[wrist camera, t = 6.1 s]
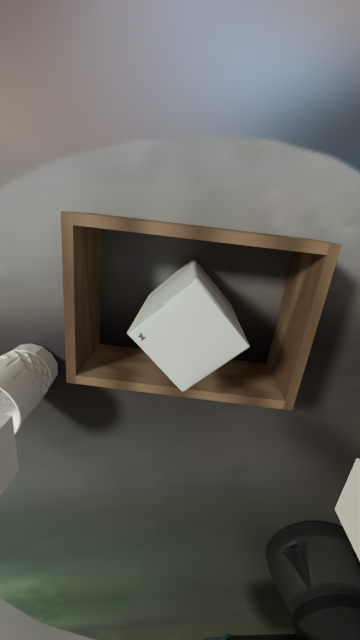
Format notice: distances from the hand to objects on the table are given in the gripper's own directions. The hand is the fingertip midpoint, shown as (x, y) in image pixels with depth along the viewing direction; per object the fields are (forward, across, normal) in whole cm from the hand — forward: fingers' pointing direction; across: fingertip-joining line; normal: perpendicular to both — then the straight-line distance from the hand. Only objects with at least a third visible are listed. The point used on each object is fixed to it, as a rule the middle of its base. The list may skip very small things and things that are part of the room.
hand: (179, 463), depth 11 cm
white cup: (+25, +20, +12) cm, 34 cm away
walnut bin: (+25, 0, 0) cm, 25 cm away
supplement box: (+25, 0, 0) cm, 25 cm away
